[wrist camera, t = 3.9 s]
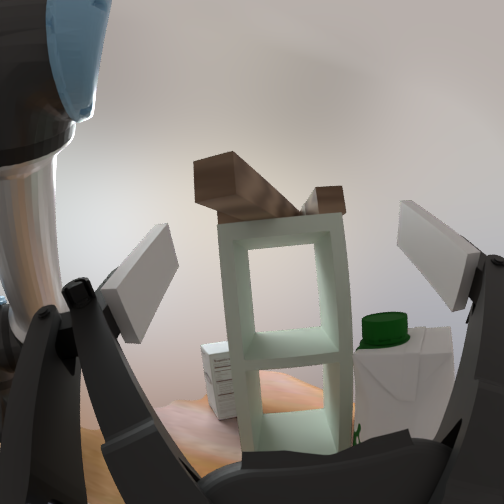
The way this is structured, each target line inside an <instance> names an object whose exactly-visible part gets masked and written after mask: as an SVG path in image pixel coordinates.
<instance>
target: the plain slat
mask: <svg viewBox="0 0 504 504" xmlns="http://www.w3.org/2000/svg"><path fill="white" fill-rule="evenodd" d="M193 164H194V189H195V203H198V204H200V205H203V206H206V207H208V208H211V209H214V210H217V211H219V212H222V213H225V214H227V215H230V216H233V217H235V218H238V219H241V220H243V221H254V220H263V219H273V218H283V217H294V216H300V211H299V210H297V209H296V208H295V207H294V206H293V205H292V204H291V203H290V202H289V201H288V200H287V199H286V198H285V197H284V196H283V195H281V194H280V193H279V192H278V191H277V190H276V189H275V188H274V187H273V186H272V185H271V184H269V183H268V182H267V181H266V180H265V179H264V178H263V177H262V176H261V175H259V174H258V173H257V172H256V171H255V170H254V169H253V168H252V167H251V166H249V165H248V164H247V163H246V162H245V161H244V160H243V159H241V158H240V157H239V156H238V155H237V154H236V153H235V152H233V151H231V152H227V153H223V154H219V155H215V156H212V157H208V158H205V159H201V160H197V161H194V162H193Z"/></svg>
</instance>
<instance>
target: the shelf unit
mask: <svg viewBox="0 0 504 504" xmlns="http://www.w3.org/2000/svg"><path fill="white" fill-rule="evenodd" d="M217 230H218V243H219V255H220V267H221V278H222V289H223V300H224V310H225V319H226V329H227V339H228V348H229V357H230V365H231V374H232V382H233V390H234V398H235V406H236V413H237V420H238V428H239V435H240V442H241V449H242V452H254V451H280V450H287V451H294V452H302V453H311V454H321V455H331V454H335V453H337V452H340V451H342V450H345V449H347V448H350V446H351V432H352V411H353V358H352V355H353V337H352V313H351V296H350V283H349V271H348V261H347V252H346V242H345V234H344V226H343V219H342V212H339V213H327V214H315V215H304V216H294V217H283V218H273V219H263V220H254V221H244V222H235V223H226V224H218V225H217ZM313 243H314V250H315V260H316V271H317V282H318V294H319V306H320V321H321V326H319V327H310V328H301V329H291V330H281V331H269V332H255V325H254V314H253V304H252V292H251V282H250V271H249V260H248V250H252V249H261V248H272V247H282V246H291V245H301V244H302V245H303V244H313ZM320 364H323V395H324V408H322V409H314V410H306V411H296V412H284V413H268V414H263V409H262V399H261V388H260V378H259V370H268V369H280V368H292V367H302V366H312V365H320Z"/></svg>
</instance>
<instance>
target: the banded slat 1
mask: <svg viewBox="0 0 504 504" xmlns="http://www.w3.org/2000/svg"><path fill="white" fill-rule="evenodd" d="M217 216H218V224H226V223H235V222H244V221H243V220H241V219H238V218H235V217H233V216H230V215H227V214H225V213H222V212H219V211H217Z"/></svg>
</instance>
